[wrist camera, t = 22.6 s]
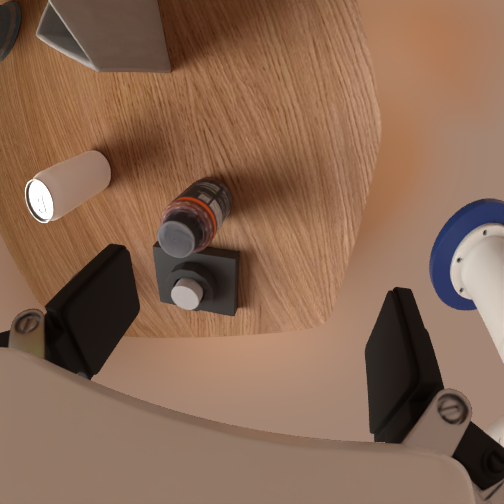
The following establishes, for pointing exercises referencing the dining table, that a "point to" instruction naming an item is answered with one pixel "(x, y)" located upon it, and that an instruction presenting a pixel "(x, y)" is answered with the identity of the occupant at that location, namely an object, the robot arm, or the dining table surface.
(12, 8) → the lantern
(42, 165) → the dining table surface
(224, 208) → the supplement bottle
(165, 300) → the button base
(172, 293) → the white button cap
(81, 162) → the can
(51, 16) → the planter
